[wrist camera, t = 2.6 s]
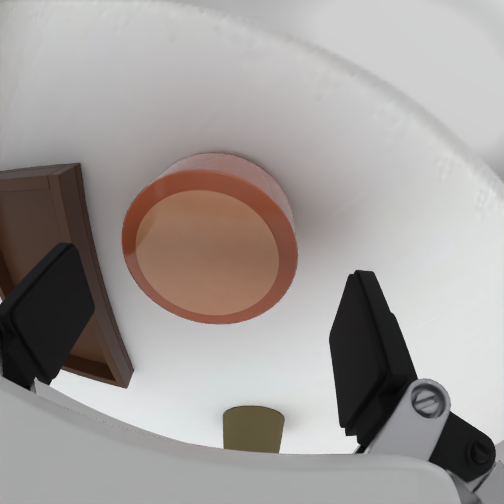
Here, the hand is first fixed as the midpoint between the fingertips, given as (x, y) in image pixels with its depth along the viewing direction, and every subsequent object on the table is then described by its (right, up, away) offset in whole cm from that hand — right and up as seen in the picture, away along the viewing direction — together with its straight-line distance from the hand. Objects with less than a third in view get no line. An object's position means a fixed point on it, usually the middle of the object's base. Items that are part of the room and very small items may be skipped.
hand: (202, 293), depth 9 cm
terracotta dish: (0, +3, +5) cm, 6 cm away
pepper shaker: (+2, -15, +16) cm, 22 cm away
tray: (-13, -1, +8) cm, 16 cm away
